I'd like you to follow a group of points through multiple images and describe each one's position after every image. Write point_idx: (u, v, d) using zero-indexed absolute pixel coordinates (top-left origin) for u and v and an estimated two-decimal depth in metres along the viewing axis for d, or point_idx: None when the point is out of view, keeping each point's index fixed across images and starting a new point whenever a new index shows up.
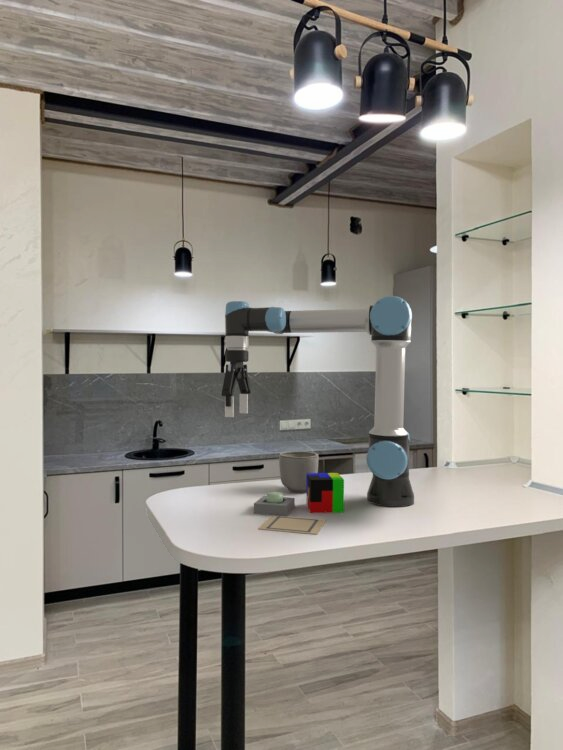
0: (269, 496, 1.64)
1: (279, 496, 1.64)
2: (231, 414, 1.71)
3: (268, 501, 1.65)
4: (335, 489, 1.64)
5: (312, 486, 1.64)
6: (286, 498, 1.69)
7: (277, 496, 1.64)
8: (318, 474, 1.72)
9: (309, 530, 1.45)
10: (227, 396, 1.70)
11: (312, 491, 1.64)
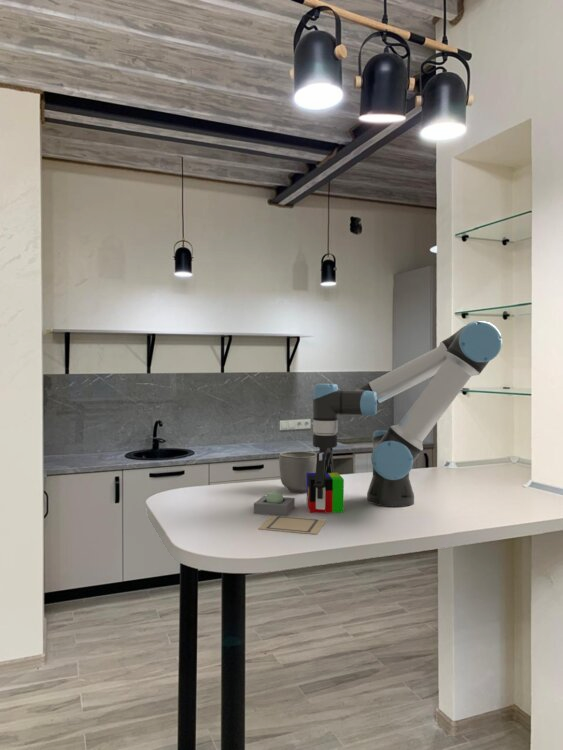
0: (269, 496, 1.64)
1: (279, 496, 1.64)
2: (323, 506, 1.63)
3: (268, 501, 1.65)
4: (335, 489, 1.64)
5: (312, 486, 1.64)
6: (286, 498, 1.69)
7: (277, 496, 1.64)
8: None
9: (309, 530, 1.45)
10: (319, 488, 1.62)
11: (312, 491, 1.64)
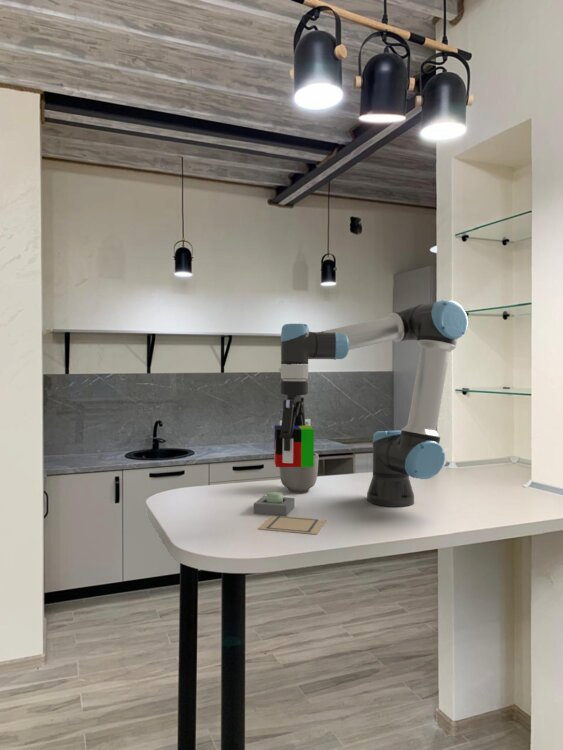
0: (269, 496, 1.64)
1: (279, 496, 1.64)
2: (290, 460, 1.45)
3: (268, 501, 1.65)
4: (304, 440, 1.46)
5: (278, 437, 1.46)
6: (286, 498, 1.69)
7: (277, 496, 1.64)
8: None
9: (309, 530, 1.45)
10: (286, 439, 1.43)
11: (278, 442, 1.46)
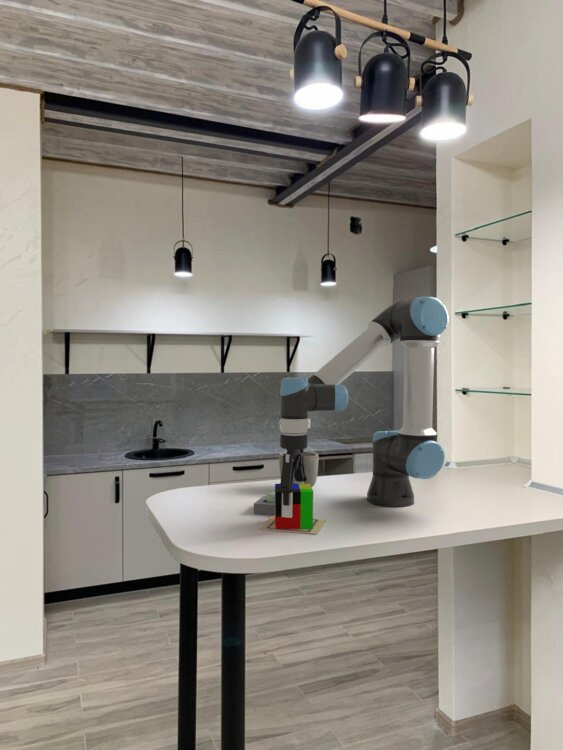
0: (269, 496, 1.64)
1: None
2: (289, 514, 1.44)
3: (268, 501, 1.65)
4: (303, 503, 1.47)
5: (277, 499, 1.46)
6: None
7: None
8: None
9: (309, 530, 1.45)
10: (285, 493, 1.43)
11: (278, 504, 1.46)
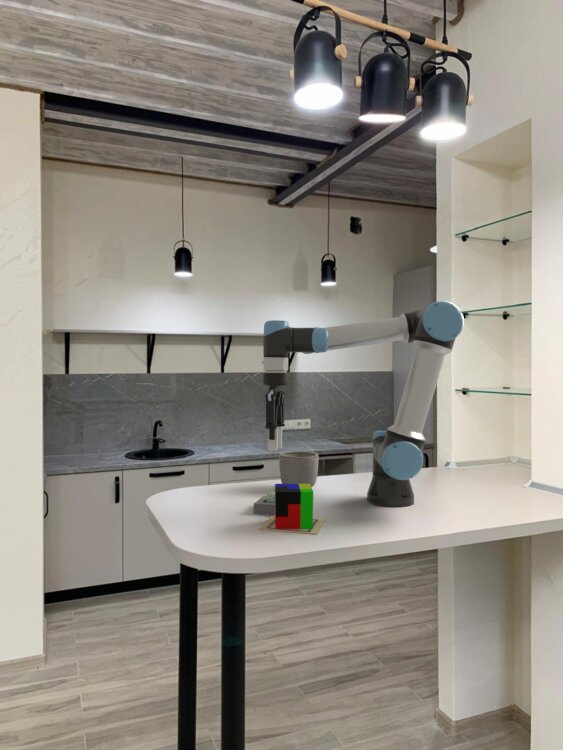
0: (269, 496, 1.64)
1: None
2: (275, 447, 1.63)
3: (268, 501, 1.65)
4: (303, 503, 1.47)
5: (277, 499, 1.46)
6: None
7: None
8: (287, 485, 1.54)
9: (309, 530, 1.45)
10: (271, 429, 1.62)
11: (278, 504, 1.46)
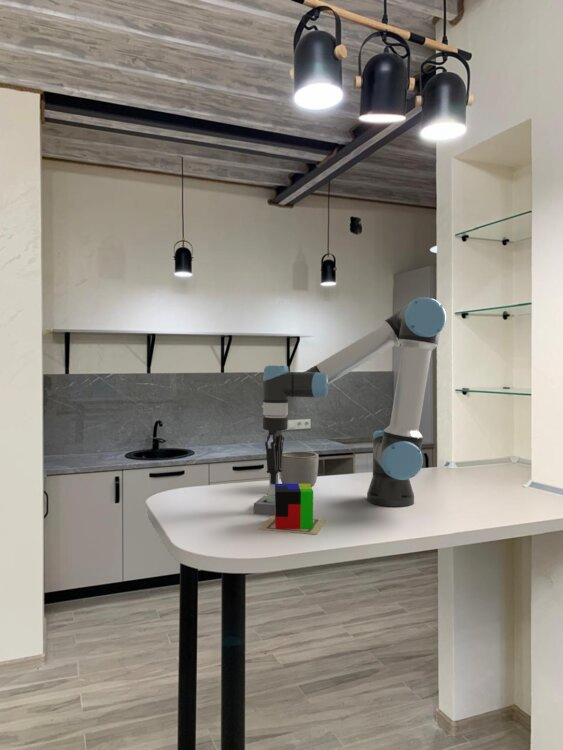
0: (269, 497, 1.64)
1: None
2: None
3: (268, 502, 1.65)
4: (303, 503, 1.47)
5: (277, 499, 1.46)
6: None
7: None
8: (287, 485, 1.54)
9: (309, 530, 1.45)
10: (272, 474, 1.64)
11: (278, 504, 1.46)
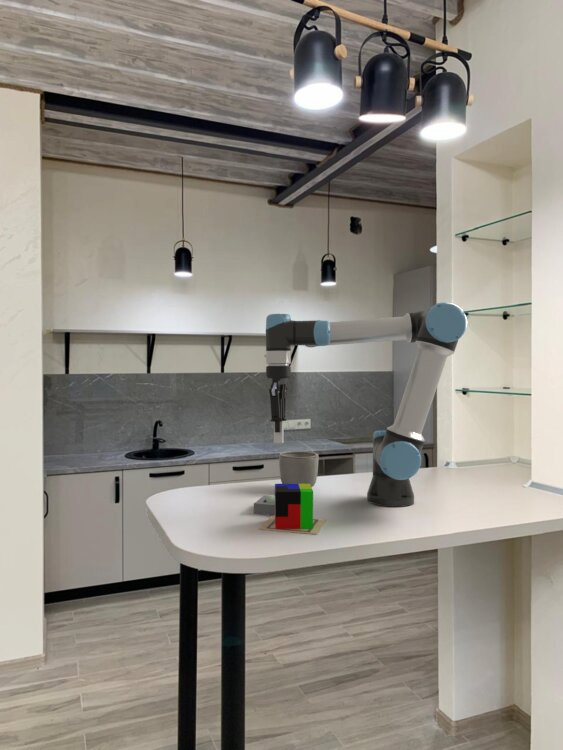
0: (269, 501, 1.64)
1: None
2: (280, 440, 1.66)
3: None
4: (303, 503, 1.47)
5: (277, 499, 1.46)
6: None
7: None
8: (287, 485, 1.54)
9: (309, 530, 1.45)
10: (277, 422, 1.65)
11: (278, 504, 1.46)
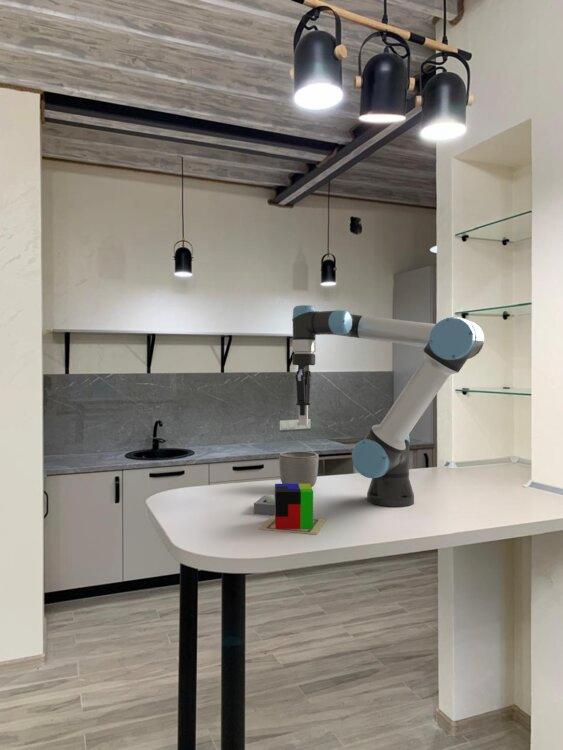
0: (269, 501, 1.64)
1: None
2: (305, 422, 1.79)
3: None
4: (303, 503, 1.47)
5: (277, 499, 1.46)
6: None
7: None
8: (287, 485, 1.54)
9: (309, 530, 1.45)
10: (302, 405, 1.78)
11: (278, 504, 1.46)
